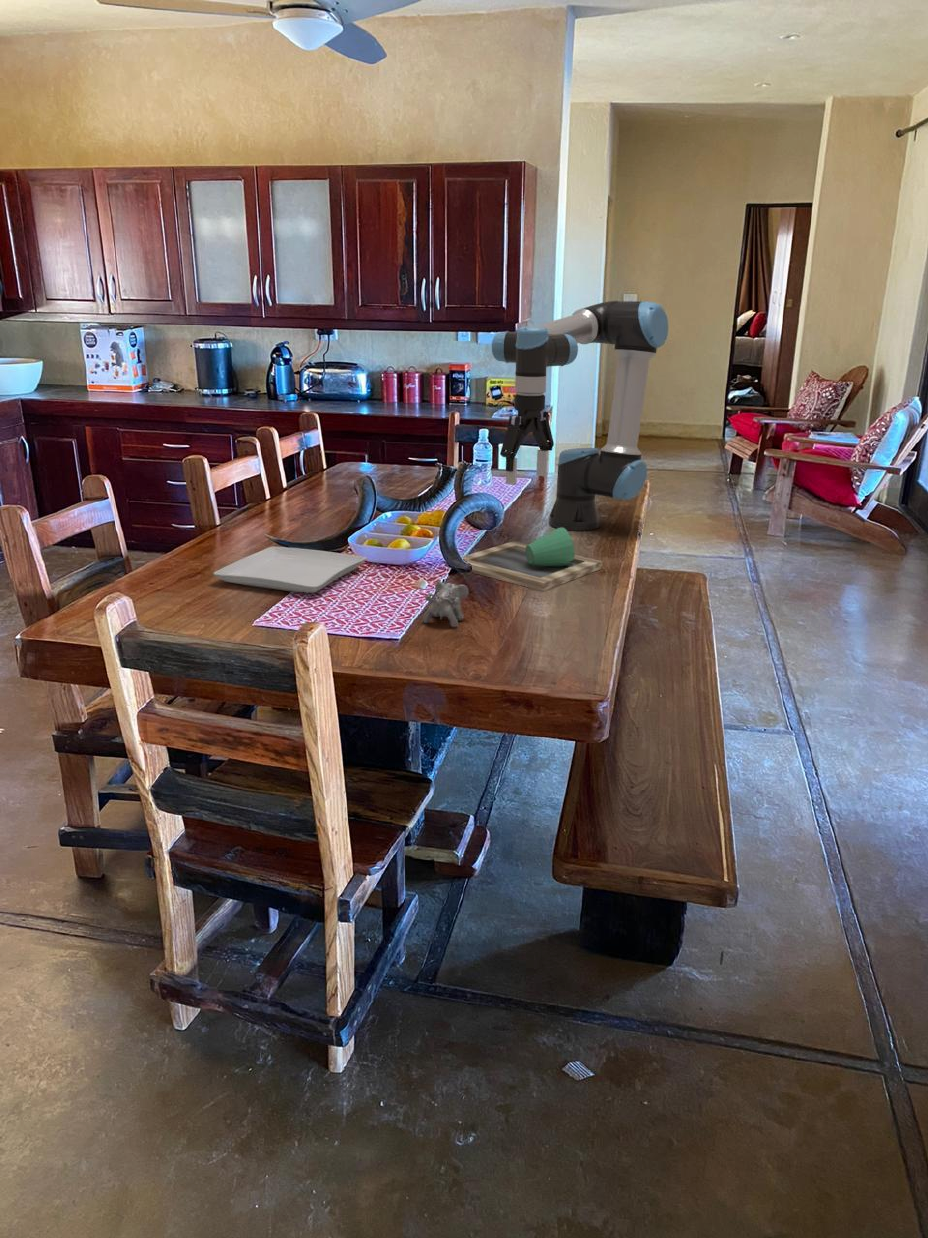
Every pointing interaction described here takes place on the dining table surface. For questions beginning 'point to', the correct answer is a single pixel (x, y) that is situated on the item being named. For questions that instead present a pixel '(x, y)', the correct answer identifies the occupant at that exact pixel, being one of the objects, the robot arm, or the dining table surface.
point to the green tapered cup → (551, 549)
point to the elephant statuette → (446, 602)
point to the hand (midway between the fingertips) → (526, 480)
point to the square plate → (290, 569)
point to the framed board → (526, 567)
